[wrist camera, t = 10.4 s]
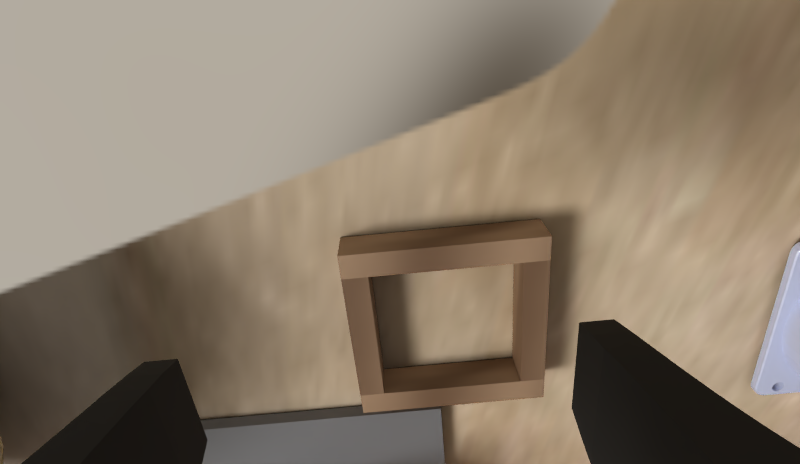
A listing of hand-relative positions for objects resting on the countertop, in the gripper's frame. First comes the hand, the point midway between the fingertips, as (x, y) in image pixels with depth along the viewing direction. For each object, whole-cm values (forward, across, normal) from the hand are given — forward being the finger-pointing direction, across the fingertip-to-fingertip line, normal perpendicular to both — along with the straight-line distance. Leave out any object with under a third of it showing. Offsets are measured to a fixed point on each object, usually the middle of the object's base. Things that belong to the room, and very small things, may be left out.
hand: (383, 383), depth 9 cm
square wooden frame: (+10, -2, +6) cm, 12 cm away
